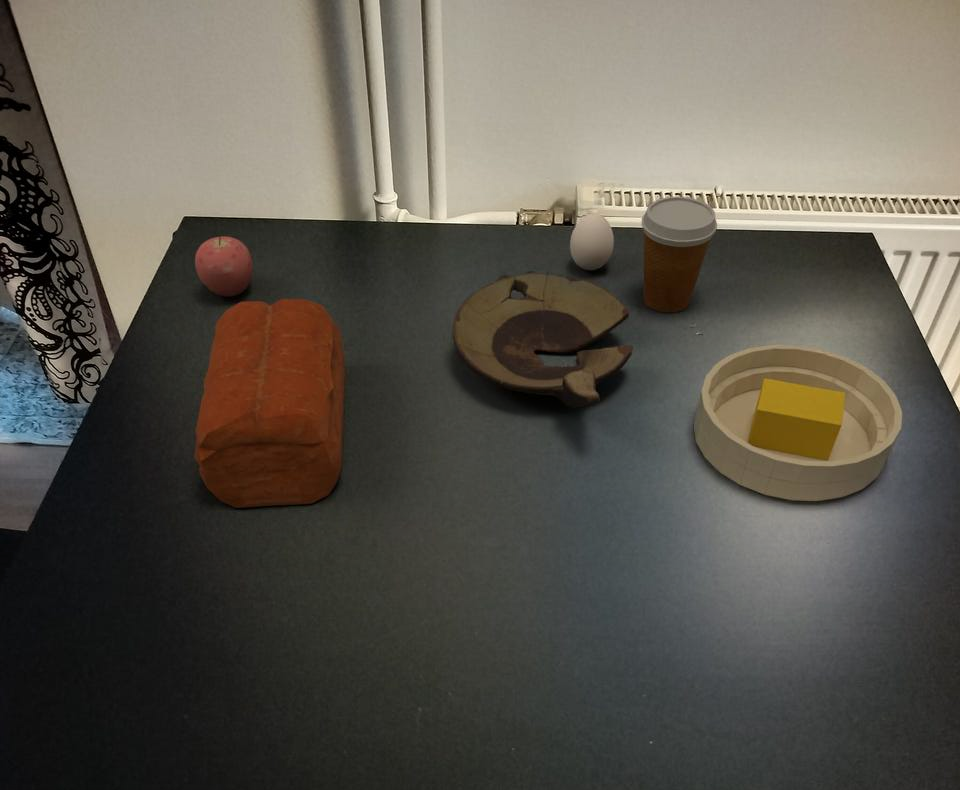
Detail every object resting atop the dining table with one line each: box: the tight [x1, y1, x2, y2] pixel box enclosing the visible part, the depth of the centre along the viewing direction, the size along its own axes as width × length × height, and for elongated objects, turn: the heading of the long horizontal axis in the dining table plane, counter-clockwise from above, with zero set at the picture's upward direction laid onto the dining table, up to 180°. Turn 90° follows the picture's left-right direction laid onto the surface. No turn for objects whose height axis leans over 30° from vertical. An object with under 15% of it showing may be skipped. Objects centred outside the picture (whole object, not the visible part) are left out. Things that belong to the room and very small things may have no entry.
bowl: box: [693, 344, 903, 502], centre depth 101 cm, size 22×22×6 cm
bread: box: [193, 298, 346, 509], centre depth 101 cm, size 16×27×11 cm, turn 4°
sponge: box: [748, 378, 846, 461], centre depth 100 cm, size 9×6×5 cm, turn 72°
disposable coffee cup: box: [641, 196, 718, 313], centre depth 117 cm, size 10×10×12 cm
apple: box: [194, 236, 254, 298], centre depth 120 cm, size 7×7×8 cm
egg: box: [569, 212, 615, 271], centre depth 124 cm, size 6×6×8 cm
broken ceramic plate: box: [451, 270, 634, 408], centre depth 108 cm, size 22×30×8 cm
